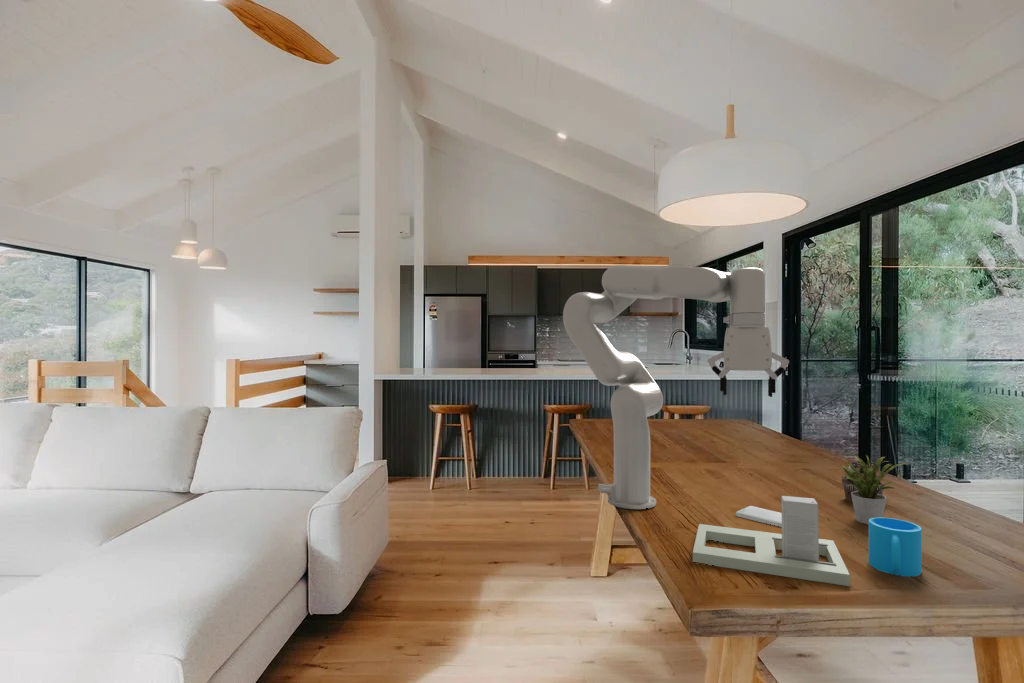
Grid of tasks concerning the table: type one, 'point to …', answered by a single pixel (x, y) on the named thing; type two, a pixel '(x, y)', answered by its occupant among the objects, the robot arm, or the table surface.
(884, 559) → the mug
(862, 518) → the house plant
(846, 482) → the cupcake
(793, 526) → the skincare box
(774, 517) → the hard drive
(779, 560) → the socket board
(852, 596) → the table surface
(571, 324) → the robot arm
